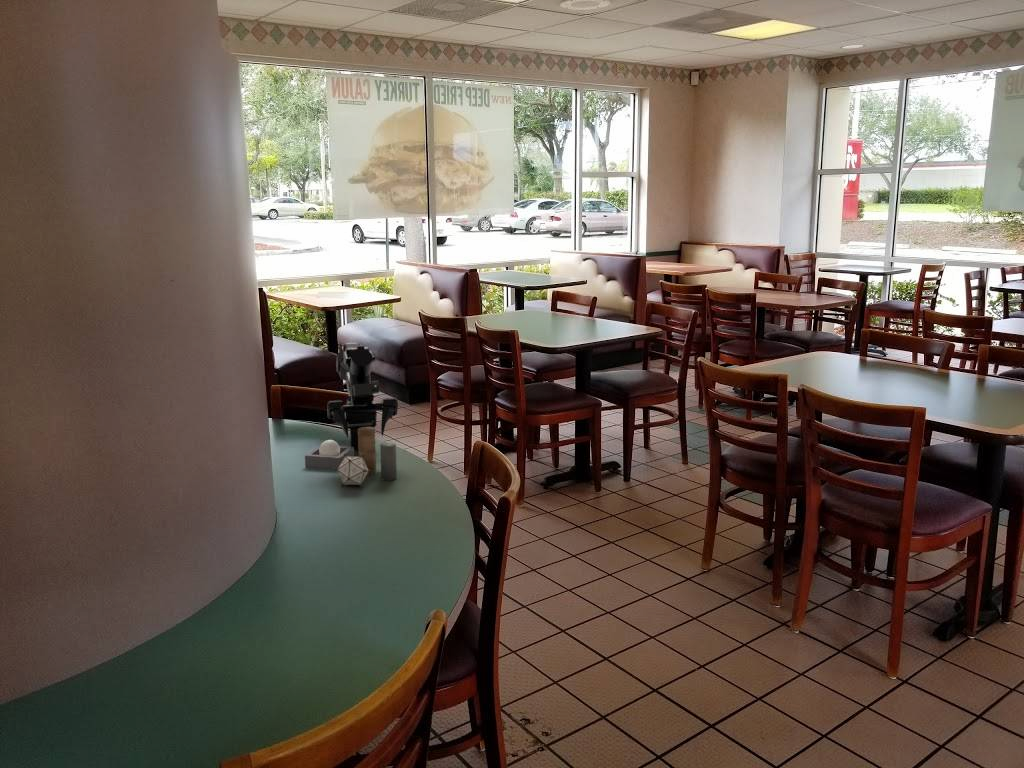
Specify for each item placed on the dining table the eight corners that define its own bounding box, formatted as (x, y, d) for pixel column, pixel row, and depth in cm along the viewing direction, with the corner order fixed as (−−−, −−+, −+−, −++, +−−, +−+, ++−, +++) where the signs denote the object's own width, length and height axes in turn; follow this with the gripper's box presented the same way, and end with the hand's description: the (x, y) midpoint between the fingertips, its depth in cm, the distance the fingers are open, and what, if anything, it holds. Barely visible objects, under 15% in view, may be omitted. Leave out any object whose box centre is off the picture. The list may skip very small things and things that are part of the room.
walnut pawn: (357, 471, 221) (355, 427, 218) (373, 469, 223) (372, 426, 220) (361, 476, 217) (360, 432, 214) (377, 474, 219) (376, 430, 216)
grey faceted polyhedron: (346, 498, 211) (328, 464, 213) (376, 483, 214) (358, 449, 216) (346, 492, 203) (328, 457, 205) (378, 476, 206) (359, 441, 207)
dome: (324, 457, 231) (323, 436, 230) (343, 458, 230) (342, 437, 229) (316, 463, 225) (315, 442, 224) (335, 464, 224) (334, 443, 223)
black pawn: (384, 475, 218) (383, 442, 216) (398, 476, 217) (398, 443, 215) (379, 480, 214) (377, 446, 212) (393, 481, 213) (392, 447, 211)
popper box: (320, 455, 233) (319, 444, 233) (354, 458, 232) (353, 447, 231) (305, 466, 224) (304, 455, 223) (340, 469, 222) (339, 457, 221)
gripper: (326, 372, 221) (329, 423, 213) (396, 369, 225) (402, 419, 217) (326, 393, 230) (329, 443, 222) (393, 390, 234) (399, 439, 227)
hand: (365, 435), depth 222 cm, fingers open, 9 cm apart
